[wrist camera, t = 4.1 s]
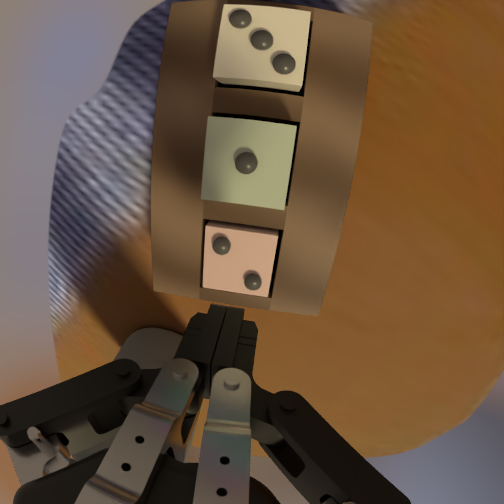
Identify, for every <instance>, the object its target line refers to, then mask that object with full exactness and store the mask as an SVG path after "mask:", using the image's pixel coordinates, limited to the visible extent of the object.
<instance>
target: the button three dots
mask: <svg viewBox="0 0 504 504" xmlns="http://www.w3.org/2000/svg"><path fill="white" fill-rule="evenodd" d="M310 16H311V12H309V11H302V10H296V9H288V8H280V7H270V6H257V5H234V4H224V7H223V12H222V18H221V24H220V30H219V36H218V43H217V49H216V56H215V63H214V71H213V78H215V79H216V80H217V81H219V82H220V83H222V84H233V85H246V86H256V87H265V88H274V89H281V90H288V91H295V92H299V91H300V89H301V87H302V84H303V76H304V68H305V60H306V51H307V43H308V34H309V25H310Z"/></svg>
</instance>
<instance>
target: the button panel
mask: <svg viewBox="0 0 504 504" xmlns="http://www.w3.org/2000/svg"><path fill="white" fill-rule="evenodd" d="M224 4H234V5H257V6H270V7H280V8H288V9H296V10H302V11H309V12H311V16H310V25H309V34H308V38H310V42H309V51H308V59H307V68H306V76H305V83H304V91H303V97H302V96H296V95H289V94H282V93H275V92H267V91H258V90H247V89H235V88H220V87H219V81H217V80H216V79H215V78H213V71H214V63H215V56H216V49H217V43H218V36H219V30H220V24H221V18H222V12H223V7H224ZM372 23H373V22H372V21H368V20H365V19H361V18H358V17H354V16H350V15H346V14H342V13H338V12H333V11H329V10H324V9H318V8H313V7H307V6H301V5H294V4H286V3H277V2H266V1H252V0H198V1H183V2H173V3H172V4H171V9H170V13H169V18H168V23H167V29H166V34H165V40H164V46H163V52H162V59H161V65H160V73H159V80H158V89H157V98H156V108H155V119H154V132H153V148H152V170H151V248H152V270H153V286H154V291H157V292H163V293H168V294H173V295H179V296H184V297H190V298H195V299H201V300H207V301H213V302H219V303H225V304H231V305H238V306H244V307H251V308H258V309H265V310H272V311H280V312H288V313H295V314H304V315H312V316H318V314H319V311H320V308H321V304H322V301H323V298H324V294H325V291H326V287H327V284H328V280H329V276H330V273H331V269H332V265H333V262H334V258H335V254H336V250H337V246H338V242H339V238H340V234H341V230H342V225H343V221H344V217H345V212H346V208H347V203H348V198H349V194H350V189H351V184H352V179H353V174H354V169H355V163H356V158H357V152H358V146H359V140H360V134H361V128H362V121H363V114H364V107H365V100H366V92H367V83H368V74H369V64H370V53H371V40H372ZM215 113H226V114H238V115H248V116H257V117H266V118H273V119H281V120H287V121H294V122H299V128H298V135H297V142H296V149H295V156H294V162H293V169H292V175H291V182H290V188H289V195H288V201H287V202H285V208H284V210H279V209H272V208H265V207H258V206H251V205H244V204H236V203H228V202H220V201H212V200H204V199H201V189H202V176H203V163H204V152H205V141H206V130H207V121H208V116H212V117H215ZM206 219H209V220H217V221H224V222H232V223H239V224H246V225H253V226H260V227H267V228H274V229H281V230H283V231H282V237H281V243H280V249H279V255H278V260H277V266H276V272H275V273H272V276H271V281H270V287H269V293H268V297H263V296H256V295H249V294H242V293H235V292H229V291H223V290H216V289H210V288H204V287H203V267H204V246H205V228H206Z"/></svg>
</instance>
